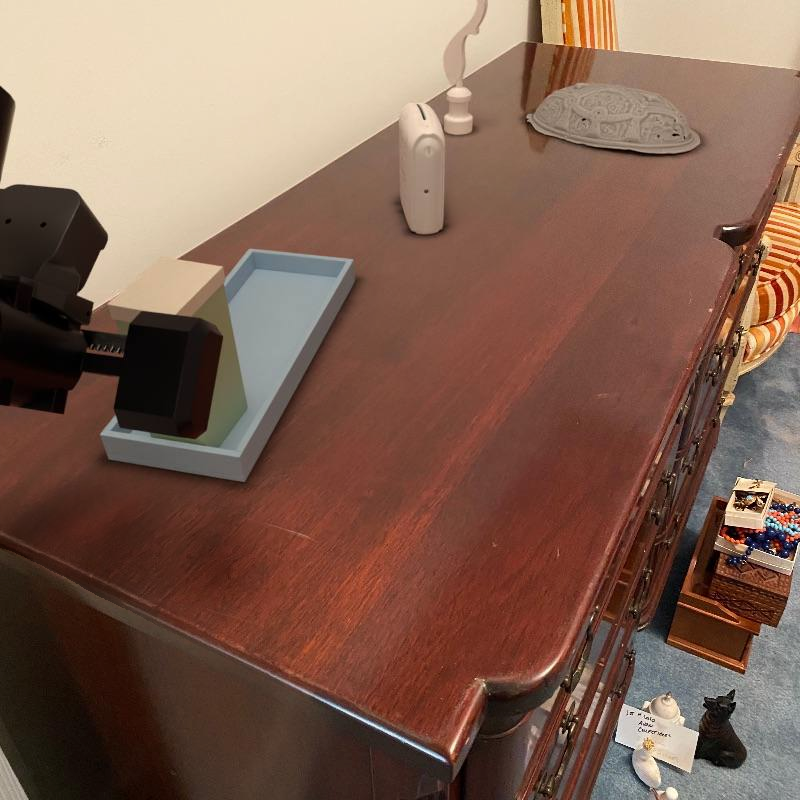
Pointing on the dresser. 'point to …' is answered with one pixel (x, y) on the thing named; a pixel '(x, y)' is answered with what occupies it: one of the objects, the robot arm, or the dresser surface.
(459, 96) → the decorative finial
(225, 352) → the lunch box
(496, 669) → the dresser surface
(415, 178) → the photo printer
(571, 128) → the grey textured dome
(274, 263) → the dish tray
